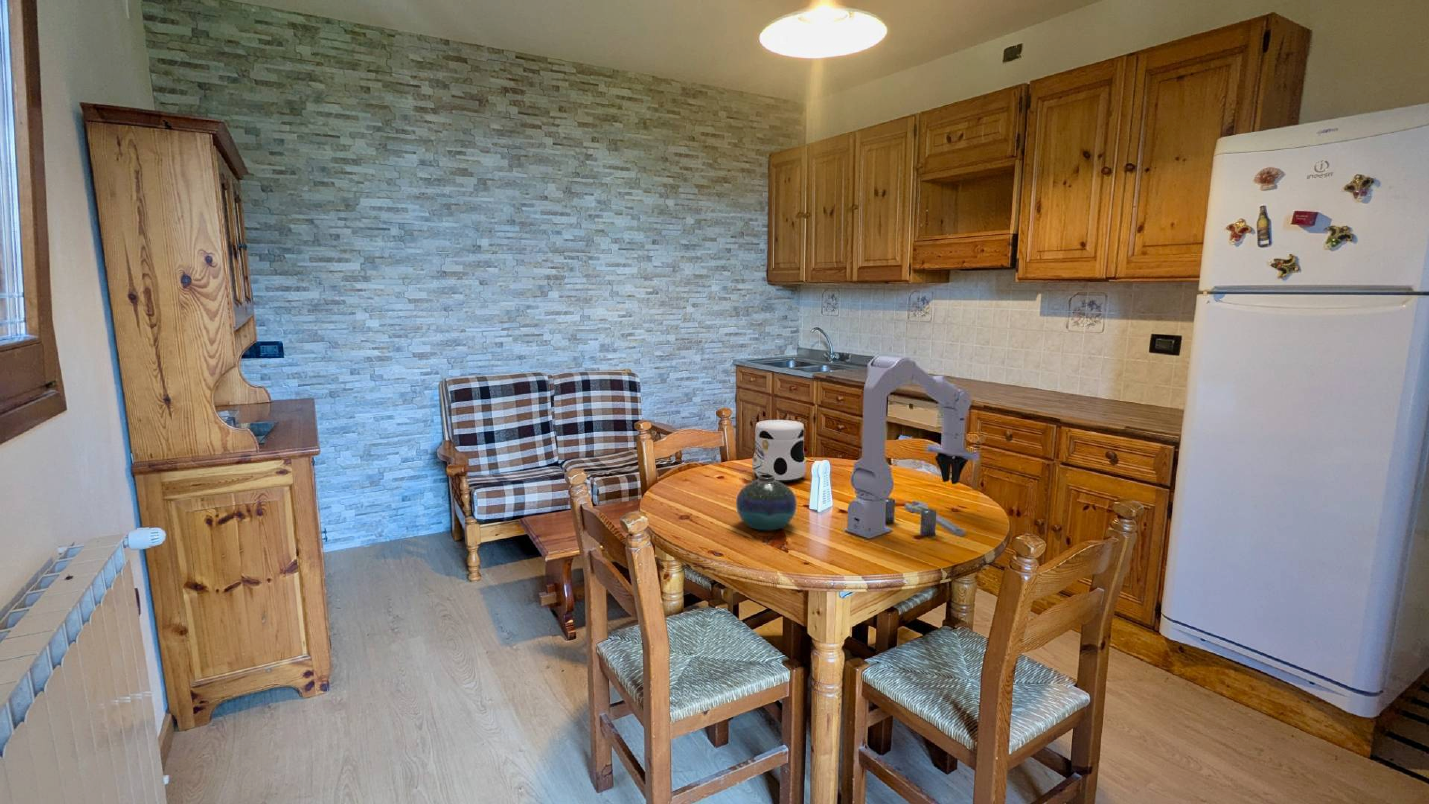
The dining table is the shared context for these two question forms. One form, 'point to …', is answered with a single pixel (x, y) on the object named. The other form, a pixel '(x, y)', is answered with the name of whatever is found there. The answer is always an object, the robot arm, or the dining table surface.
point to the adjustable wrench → (939, 520)
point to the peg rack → (926, 518)
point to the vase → (766, 504)
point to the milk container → (779, 450)
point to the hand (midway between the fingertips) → (950, 482)
